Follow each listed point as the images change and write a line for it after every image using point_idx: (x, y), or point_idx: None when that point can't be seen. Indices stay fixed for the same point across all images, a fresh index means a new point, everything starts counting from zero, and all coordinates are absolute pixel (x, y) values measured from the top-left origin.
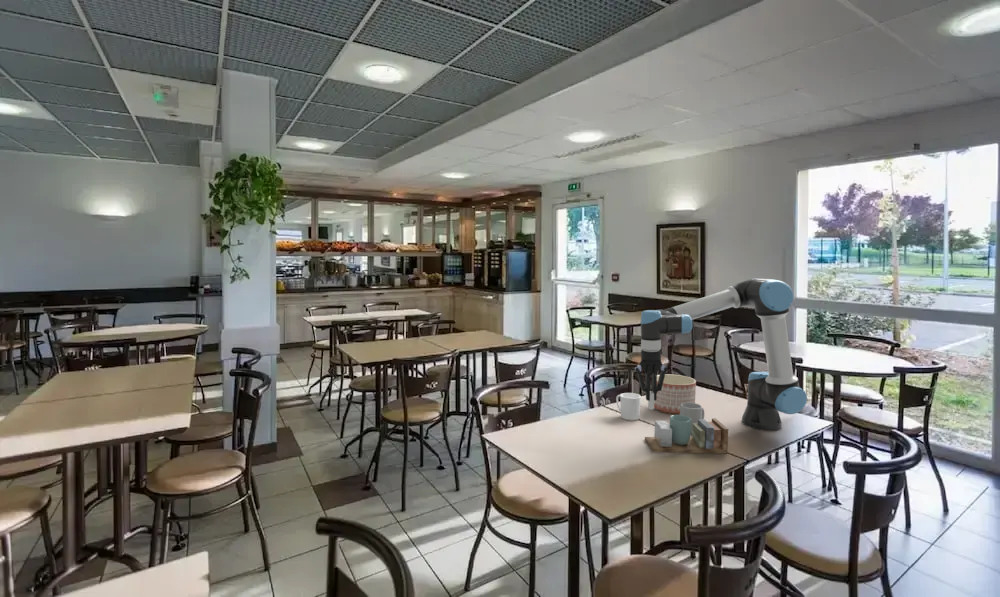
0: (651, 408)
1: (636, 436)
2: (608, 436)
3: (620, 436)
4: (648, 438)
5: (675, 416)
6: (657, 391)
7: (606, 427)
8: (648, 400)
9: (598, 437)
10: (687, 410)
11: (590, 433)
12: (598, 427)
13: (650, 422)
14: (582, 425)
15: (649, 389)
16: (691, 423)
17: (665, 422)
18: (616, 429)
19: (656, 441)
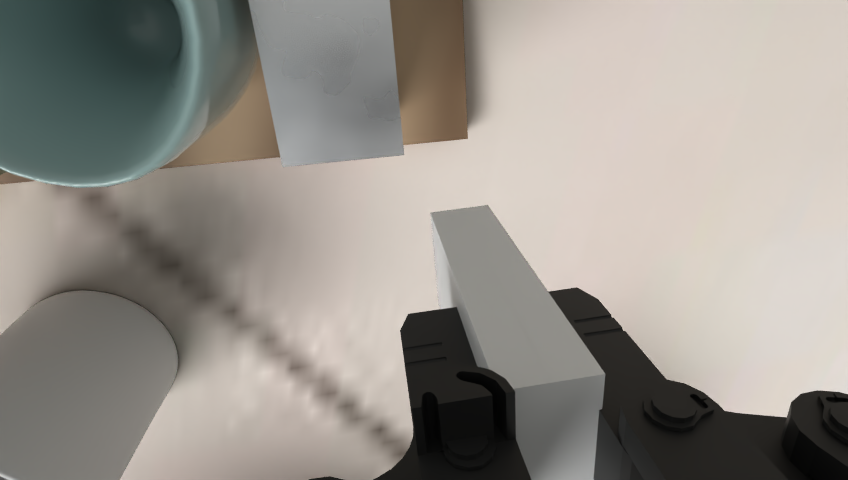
0: (471, 211)
1: (510, 194)
2: (714, 165)
3: (627, 177)
4: (444, 107)
5: (127, 157)
6: (387, 476)
7: (670, 322)
8: (554, 292)
9: (794, 135)
10: (5, 440)
11: (818, 203)
12: (722, 314)
13: (364, 443)
14: (810, 330)
15: (689, 470)
16: (41, 342)
17: (284, 100)
18: (615, 300)
19: None
